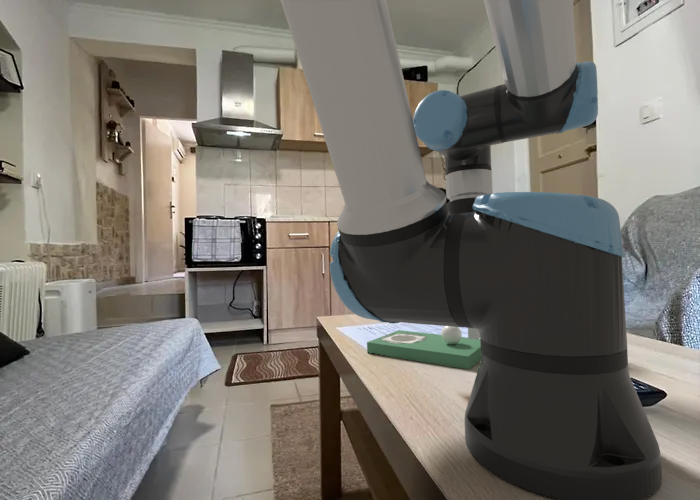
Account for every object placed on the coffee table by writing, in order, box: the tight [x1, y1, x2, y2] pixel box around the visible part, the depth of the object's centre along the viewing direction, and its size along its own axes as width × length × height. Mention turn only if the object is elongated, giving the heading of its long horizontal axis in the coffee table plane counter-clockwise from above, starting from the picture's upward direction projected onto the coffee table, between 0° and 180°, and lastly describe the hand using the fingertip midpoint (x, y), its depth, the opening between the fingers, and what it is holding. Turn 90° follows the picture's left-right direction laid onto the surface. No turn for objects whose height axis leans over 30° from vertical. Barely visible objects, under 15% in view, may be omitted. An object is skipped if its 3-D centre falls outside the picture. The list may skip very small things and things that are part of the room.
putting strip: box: [366, 329, 481, 370], centre depth 67 cm, size 12×19×2 cm, turn 53°
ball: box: [440, 326, 463, 344], centre depth 64 cm, size 4×4×4 cm
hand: (475, 337), depth 62 cm, fingers closed
